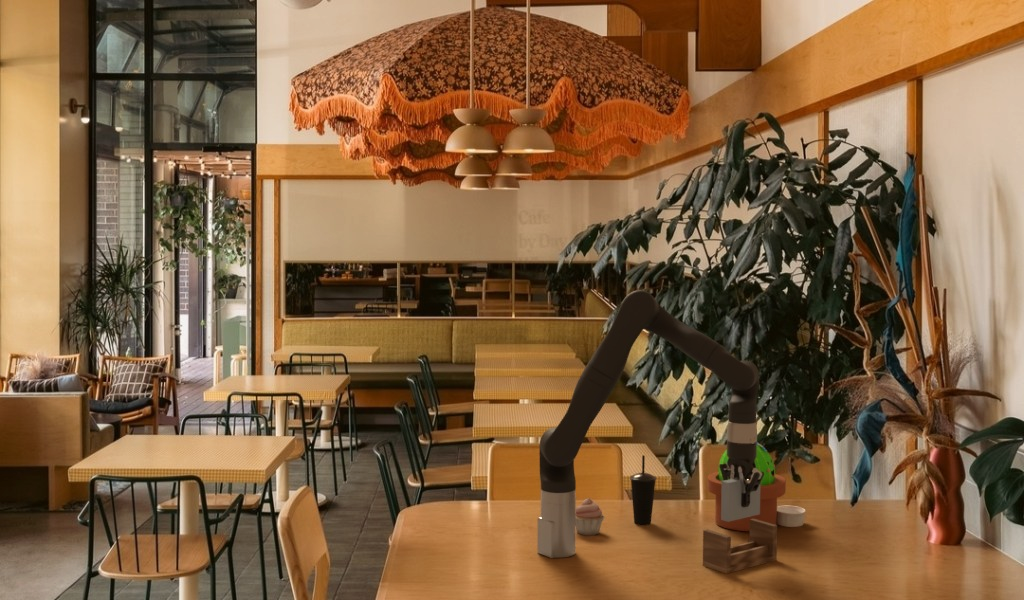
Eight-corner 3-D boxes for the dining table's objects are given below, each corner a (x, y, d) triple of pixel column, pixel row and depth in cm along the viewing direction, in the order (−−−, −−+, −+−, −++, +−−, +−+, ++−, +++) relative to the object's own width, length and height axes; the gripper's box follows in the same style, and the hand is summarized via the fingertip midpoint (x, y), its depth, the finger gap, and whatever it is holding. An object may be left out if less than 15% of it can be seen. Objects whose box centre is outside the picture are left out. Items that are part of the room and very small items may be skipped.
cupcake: (593, 539, 304) (593, 503, 303) (565, 533, 310) (565, 498, 309) (611, 531, 312) (611, 497, 311) (583, 526, 317) (583, 492, 316)
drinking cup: (647, 528, 315) (648, 459, 313) (624, 523, 319) (625, 456, 318) (660, 522, 321) (661, 455, 320) (638, 518, 326) (638, 451, 324)
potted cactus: (697, 528, 315) (698, 442, 314) (720, 510, 335) (721, 429, 333) (773, 538, 305) (775, 449, 303) (792, 519, 324) (794, 436, 323)
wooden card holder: (726, 573, 275) (726, 537, 274) (702, 565, 281) (703, 530, 280) (776, 560, 286) (777, 525, 285) (752, 552, 292) (753, 518, 292)
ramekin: (808, 528, 316) (808, 513, 316) (777, 527, 316) (777, 513, 316) (801, 519, 325) (801, 505, 325) (771, 519, 325) (771, 505, 325)
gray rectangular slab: (728, 521, 278) (728, 482, 278) (721, 519, 280) (721, 481, 279) (759, 514, 285) (760, 476, 285) (752, 512, 287) (753, 474, 287)
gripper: (711, 436, 285) (710, 502, 286) (752, 445, 273) (751, 513, 275) (731, 433, 289) (730, 497, 290) (772, 441, 278) (771, 509, 279)
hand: (740, 505), depth 282 cm, fingers closed on gray rectangular slab, 2 cm apart
